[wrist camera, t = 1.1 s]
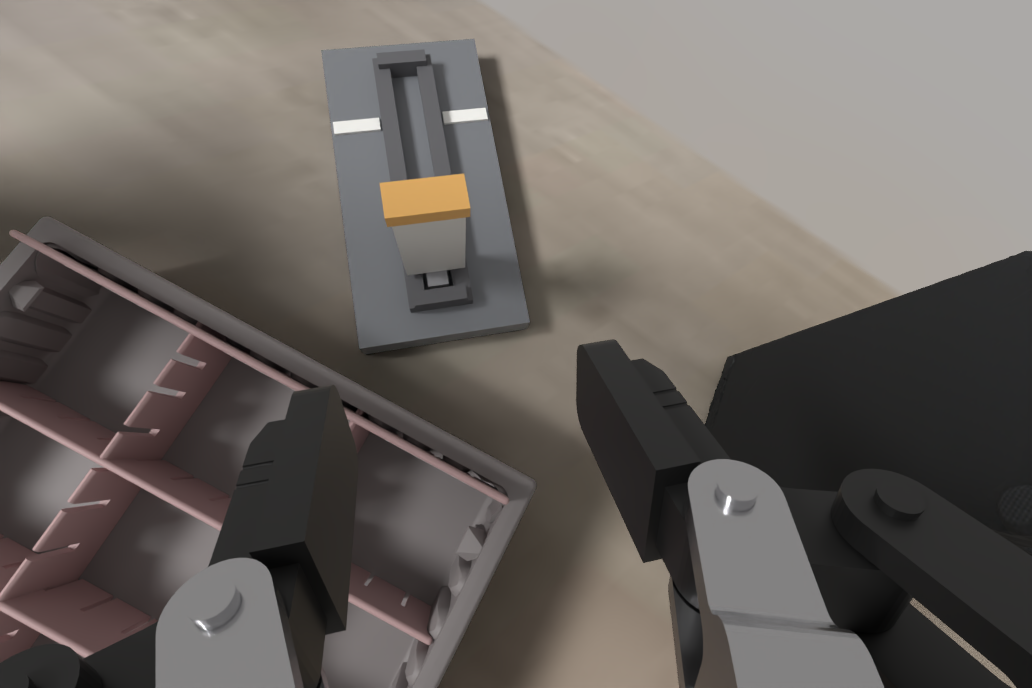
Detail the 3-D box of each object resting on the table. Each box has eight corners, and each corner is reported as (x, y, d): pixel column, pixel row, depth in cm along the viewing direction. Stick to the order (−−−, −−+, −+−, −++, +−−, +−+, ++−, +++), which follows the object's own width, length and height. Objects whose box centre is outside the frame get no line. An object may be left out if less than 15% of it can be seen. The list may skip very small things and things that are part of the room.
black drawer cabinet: (994, 475, 40) (1720, 504, 17) (968, 615, 37) (1786, 875, 14) (723, 354, 39) (1083, 215, 17) (679, 486, 37) (1033, 537, 14)
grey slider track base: (526, 328, 38) (532, 316, 35) (364, 354, 36) (354, 344, 33) (473, 57, 43) (474, 23, 39) (328, 69, 41) (315, 34, 38)
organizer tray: (-351, 875, 27) (-811, 1113, 17) (132, 263, 36) (12, 194, 27) (172, 1172, 26) (5, 1587, 17) (523, 476, 36) (545, 484, 26)
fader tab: (470, 286, 36) (472, 222, 26) (408, 295, 35) (386, 232, 25) (461, 239, 37) (461, 159, 27) (400, 247, 36) (377, 169, 26)
